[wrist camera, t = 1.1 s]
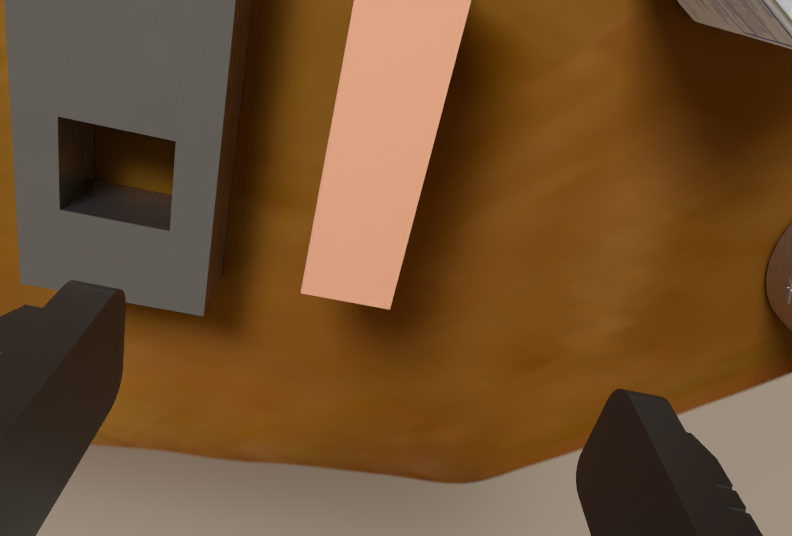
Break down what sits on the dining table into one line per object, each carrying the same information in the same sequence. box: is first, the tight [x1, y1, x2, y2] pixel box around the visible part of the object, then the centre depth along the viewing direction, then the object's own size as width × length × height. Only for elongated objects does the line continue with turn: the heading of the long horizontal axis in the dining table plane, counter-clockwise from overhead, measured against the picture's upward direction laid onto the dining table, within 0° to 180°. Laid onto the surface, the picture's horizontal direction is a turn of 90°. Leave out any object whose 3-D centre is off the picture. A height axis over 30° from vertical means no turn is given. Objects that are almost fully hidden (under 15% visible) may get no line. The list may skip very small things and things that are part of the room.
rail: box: [4, 0, 253, 316], centre depth 25 cm, size 8×22×4 cm, turn 167°
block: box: [301, 0, 471, 310], centre depth 25 cm, size 4×14×6 cm, turn 167°
